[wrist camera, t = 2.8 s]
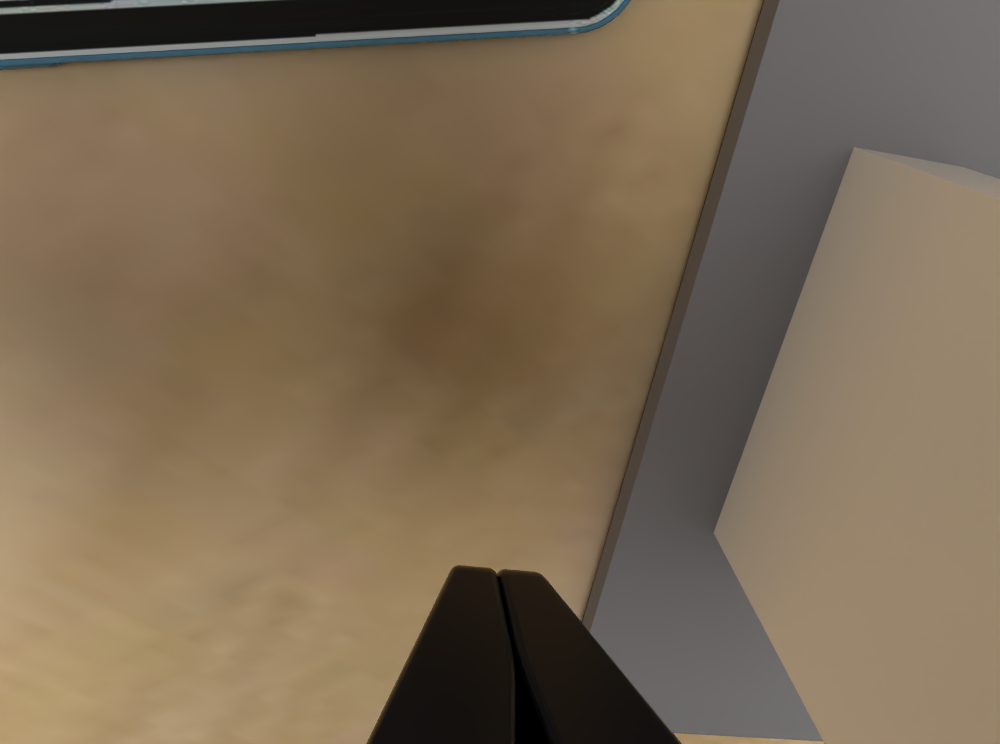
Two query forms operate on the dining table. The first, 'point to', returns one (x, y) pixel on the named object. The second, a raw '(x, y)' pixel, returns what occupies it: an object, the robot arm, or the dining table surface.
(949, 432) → the tile
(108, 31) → the smartphone
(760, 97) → the mat
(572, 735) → the robot arm
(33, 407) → the dining table surface
